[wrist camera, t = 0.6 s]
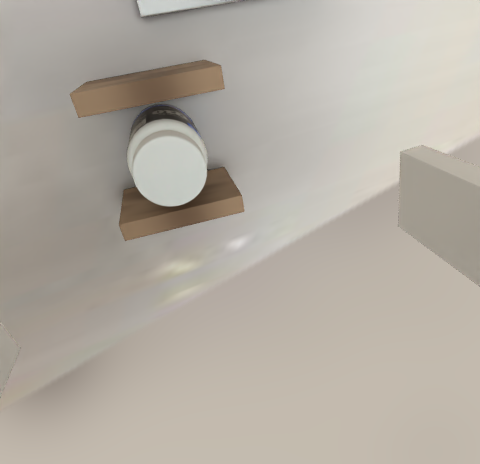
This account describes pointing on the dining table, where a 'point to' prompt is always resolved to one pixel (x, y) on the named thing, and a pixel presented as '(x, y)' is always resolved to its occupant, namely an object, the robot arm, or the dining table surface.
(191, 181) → the pill bottle
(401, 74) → the dining table surface
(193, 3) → the slate tray
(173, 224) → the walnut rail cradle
